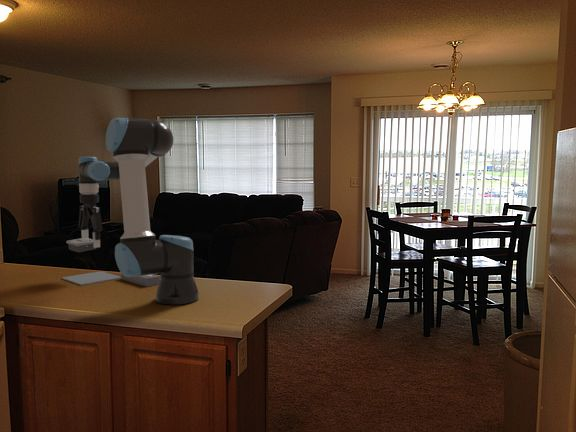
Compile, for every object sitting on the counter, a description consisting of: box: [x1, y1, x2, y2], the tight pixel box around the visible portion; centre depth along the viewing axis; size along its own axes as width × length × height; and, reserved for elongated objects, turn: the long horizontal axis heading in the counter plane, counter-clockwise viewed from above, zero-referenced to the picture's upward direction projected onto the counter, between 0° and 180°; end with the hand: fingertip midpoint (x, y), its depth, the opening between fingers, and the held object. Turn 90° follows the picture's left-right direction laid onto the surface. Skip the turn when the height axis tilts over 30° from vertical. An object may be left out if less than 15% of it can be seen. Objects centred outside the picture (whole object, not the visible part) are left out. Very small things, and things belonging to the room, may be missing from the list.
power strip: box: [120, 272, 161, 288], centre depth 210 cm, size 20×6×4 cm, turn 47°
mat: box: [61, 270, 122, 287], centre depth 216 cm, size 18×18×1 cm
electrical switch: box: [66, 237, 97, 253], centre depth 211 cm, size 9×5×9 cm
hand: (90, 246), depth 214 cm, fingers closed on electrical switch, 10 cm apart
